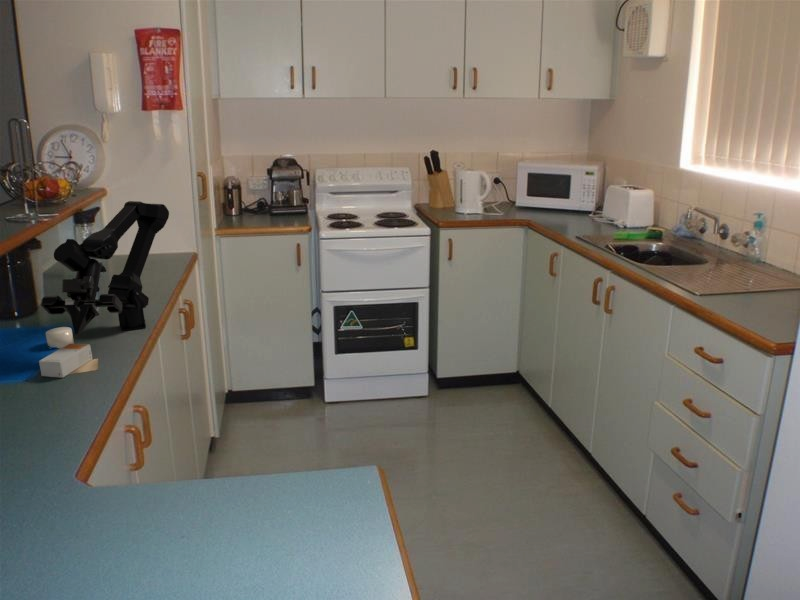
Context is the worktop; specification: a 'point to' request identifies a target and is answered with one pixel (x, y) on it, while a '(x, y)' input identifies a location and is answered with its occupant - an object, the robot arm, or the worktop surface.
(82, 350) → the skincare box
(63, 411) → the worktop surface
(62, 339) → the beige rounded piece
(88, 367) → the smooth tan tapered shape
